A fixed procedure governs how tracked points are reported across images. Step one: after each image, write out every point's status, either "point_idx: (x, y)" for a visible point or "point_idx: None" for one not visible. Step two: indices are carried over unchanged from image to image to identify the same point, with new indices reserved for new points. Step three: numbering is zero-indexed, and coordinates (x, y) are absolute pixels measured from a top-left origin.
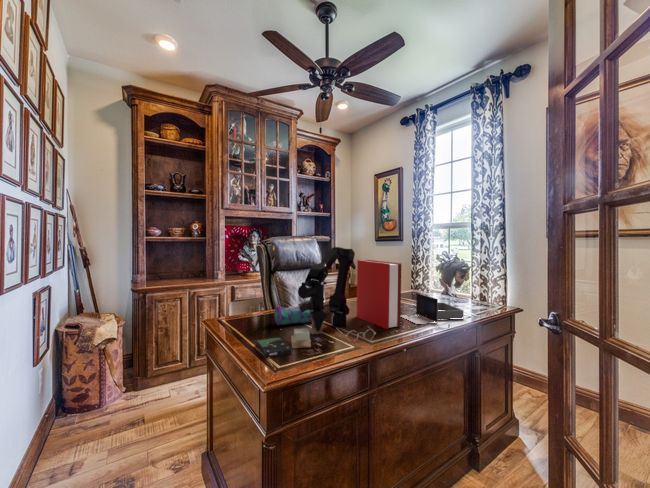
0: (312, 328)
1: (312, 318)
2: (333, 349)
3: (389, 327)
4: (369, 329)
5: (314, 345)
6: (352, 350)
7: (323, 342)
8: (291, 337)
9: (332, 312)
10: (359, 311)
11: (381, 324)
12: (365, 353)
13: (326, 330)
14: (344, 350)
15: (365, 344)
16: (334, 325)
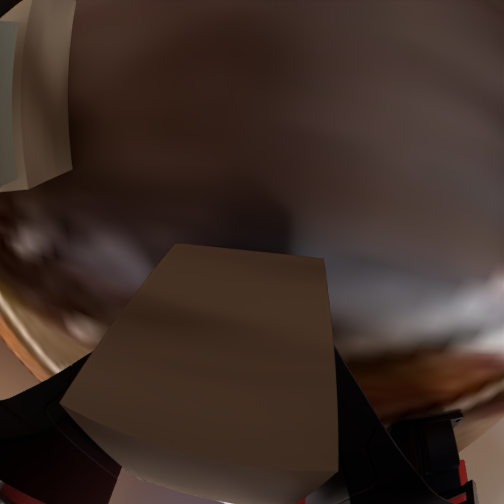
0: (176, 287)
1: (262, 472)
2: (6, 293)
3: None
4: (138, 478)
5: (10, 207)
6: (28, 351)
7: (59, 281)
8: (16, 9)
9: (453, 492)
10: None
11: (304, 499)
12: (27, 367)
13: (360, 382)
14: (16, 328)
15: None
16: (411, 427)
